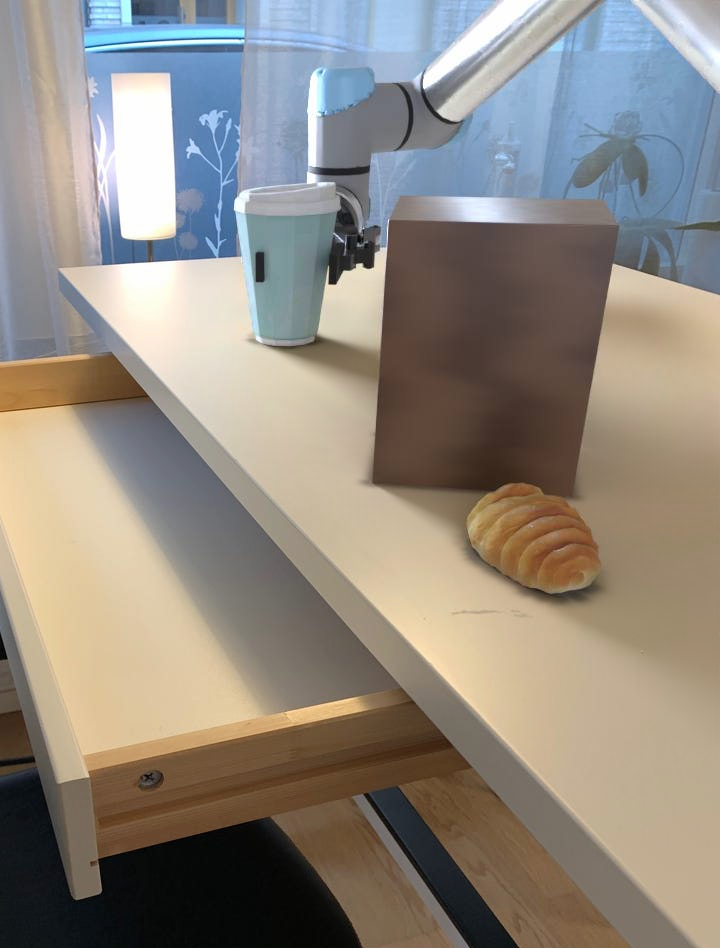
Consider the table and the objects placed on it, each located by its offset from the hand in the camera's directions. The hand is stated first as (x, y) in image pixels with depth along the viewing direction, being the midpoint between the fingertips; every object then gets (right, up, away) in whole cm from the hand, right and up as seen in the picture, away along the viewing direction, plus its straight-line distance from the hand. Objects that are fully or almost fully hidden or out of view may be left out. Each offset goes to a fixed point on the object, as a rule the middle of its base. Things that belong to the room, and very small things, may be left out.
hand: (295, 268), depth 98 cm
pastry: (+13, -31, -34) cm, 48 cm away
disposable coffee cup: (0, -4, +9) cm, 10 cm away
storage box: (+14, -19, -15) cm, 28 cm away
